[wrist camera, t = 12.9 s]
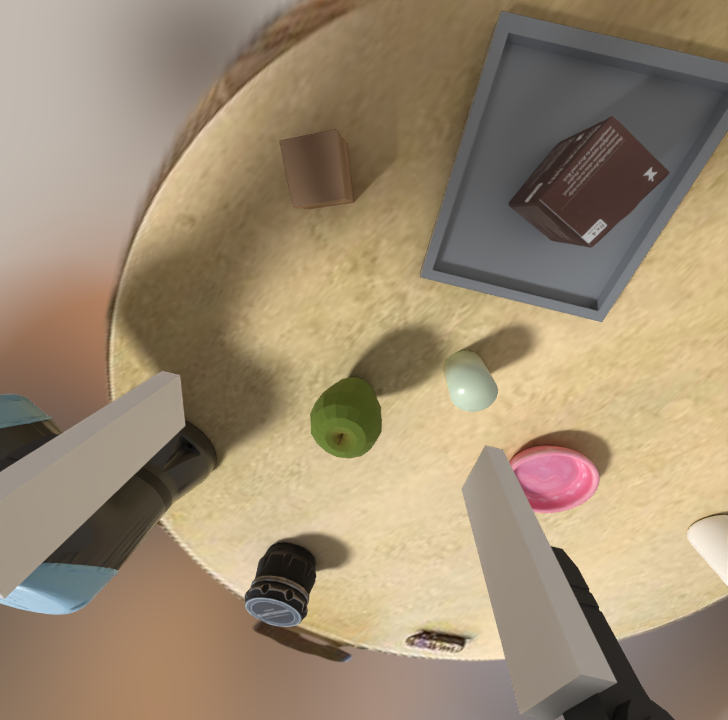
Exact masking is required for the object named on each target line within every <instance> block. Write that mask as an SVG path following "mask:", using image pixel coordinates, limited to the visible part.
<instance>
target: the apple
mask: <svg viewBox="0 0 728 720" xmlns="http://www.w3.org/2000/svg"><path fill="white" fill-rule="evenodd" d="M310 416H311V434H312V436H313V438H314V439H315V441H316V443H317V444H318V445H319V446H320V447H322V448H323V449H324V450H325V451H326V452H328V453H330V454H332V455H334V456H336V457H342V458H354V457H359V456H362V455H363V454H365V453H366V452H368V451H369V450H370V449H371V448H372V446H373V445H374V443H375V442H376V440H377V439H378V437H379V435H380V433H381V426H382V419H381V406H380V404H379V402H378V400H377V398H376V395H375V393H374V390H373V388H372V386H371V385H370V384H369V383H368V382H367V381H365V380H363V379H361V378H356V377H349V378H345V379H342V380H340V381H339V382H337V383H336V384H334V385H333V386H331V387H330V388H329V389H327V390H326V391H325V392H324V393H323V394H322V395H321V396H320V398H319V399H318V400H317V402H316V403H315V405H314V407H313V409H312V411H311V413H310Z"/></svg>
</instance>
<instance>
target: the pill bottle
mask: <svg viewBox="0 0 728 720" xmlns="http://www.w3.org/2000/svg"><path fill="white" fill-rule="evenodd" d="M687 538H688V540H689V542H690V543H691V544H692V546H693V547H694V548H695V549H696V550H697V551H698V552H699V554H700V555H701V556H702V557H703V558H704V559H705V560H706V562H707V563H708V564H709V565H710V566H711V567H712V569H713V570H714V571H715V572H716V573H717V574H718V575H719V577H720V578H721V579H722V580H723V581H724V582H725V583H726V585H727V586H728V515H718V516H712V517H708V518H705V519H702V520H700V521H698V522H696V523H694V524H693V525H692V526H690V527H689V529H688V530H687Z"/></svg>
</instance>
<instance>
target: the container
mask: <svg viewBox="0 0 728 720" xmlns="http://www.w3.org/2000/svg"><path fill="white" fill-rule="evenodd" d="M315 565H316V563H315V558H314V556H313V555H312V554H311V553H310V552H309V551H307V550H306V549H304V548H302V547H300V546H297V545H293V544H287V543H278V544H274V545H273V546H271V547H270V548H269V549H268V550H267V552H266V554H265V555H264V556H263V557H262V558H261V559H260V561H259V563H258V568H257V572H256V577H255V579H254V581H253V582H252V584H251V588H250V589H249V590H248V591H247V592H246V594H245V607H246V609H247V611H248V612H249V613H250V614H251V615H252V616H253V617H255V618H257V619H259V620H261V621H263V622H266V623H267V624H271V625H275V626H282V627H291V626H295V625H298V624H299V623H300V622H301V621H302V620H303V619H304V618H305V617H306V615H307V612H308V609H307V605H308V602H309V594H310V592H311V589H312V587H313V585H314V583H315V578H316V573H315Z"/></svg>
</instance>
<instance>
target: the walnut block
mask: <svg viewBox="0 0 728 720" xmlns="http://www.w3.org/2000/svg"><path fill="white" fill-rule="evenodd" d="M280 146H281V151H282V155H283V160H284V165H285V170H286V175H287V180H288V185H289V190H290V194H291V199H292V204H293V207H296V208H304V209H314V208H320V207H327V206H333V205H340V204H346V203H353V202H354V196H353V188H352V180H351V172H350V163H349V155H348V147H347V143H346V142H345V140H344V139H343V138H342V136H341V135H340V134H339V132H338V131H337V130H336V129H335V130H330V131H325V132H320V133H315V134H310V135H305V136H300V137H295V138H290V139H285V140H280Z"/></svg>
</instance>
